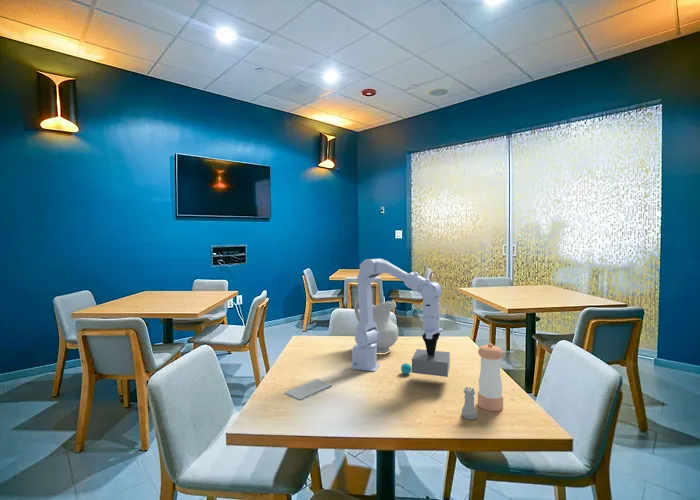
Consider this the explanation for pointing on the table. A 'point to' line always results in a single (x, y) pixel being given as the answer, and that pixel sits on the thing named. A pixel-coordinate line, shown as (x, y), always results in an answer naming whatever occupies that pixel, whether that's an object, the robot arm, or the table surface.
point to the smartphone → (308, 389)
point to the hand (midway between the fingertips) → (431, 354)
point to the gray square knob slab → (431, 363)
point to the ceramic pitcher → (382, 324)
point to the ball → (406, 368)
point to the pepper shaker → (490, 378)
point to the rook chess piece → (469, 404)
